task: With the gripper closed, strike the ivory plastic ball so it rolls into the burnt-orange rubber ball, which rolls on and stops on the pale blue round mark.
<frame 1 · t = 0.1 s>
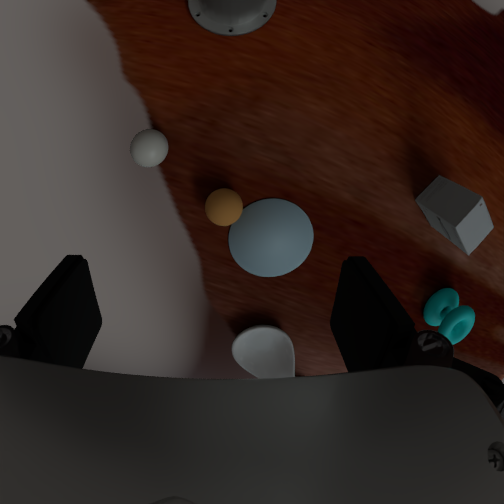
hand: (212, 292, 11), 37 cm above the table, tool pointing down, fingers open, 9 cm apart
spoon rest: (275, 353, 63), on the table
donuts: (438, 303, 61), on the table
supplement box: (434, 200, 49), on the table
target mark: (271, 239, 50), on the table
cue ball: (149, 148, 40), on the table
orange ball: (223, 207, 44), on the table
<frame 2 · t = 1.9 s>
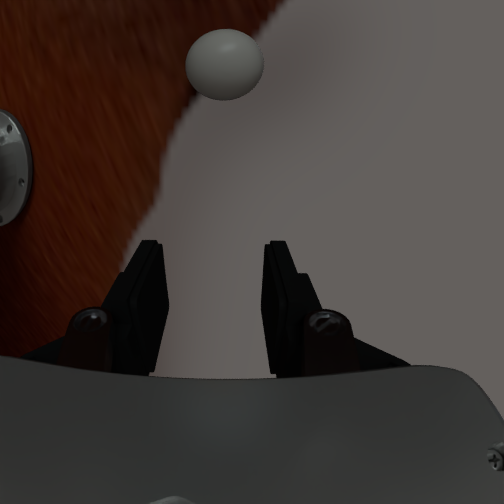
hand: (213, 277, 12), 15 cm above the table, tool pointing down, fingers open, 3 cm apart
cue ball: (224, 64, 18), on the table
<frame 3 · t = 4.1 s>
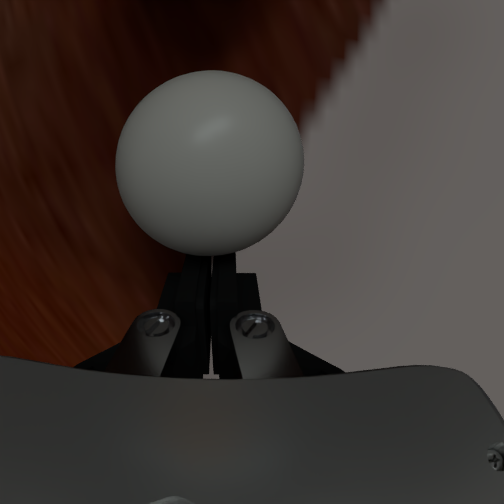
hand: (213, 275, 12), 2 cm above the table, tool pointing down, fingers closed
cue ball: (209, 162, 9), on the table
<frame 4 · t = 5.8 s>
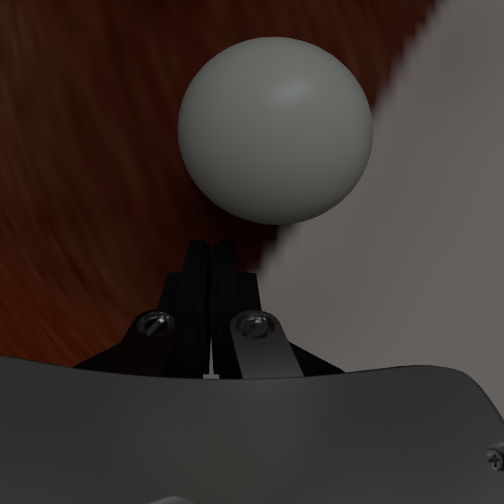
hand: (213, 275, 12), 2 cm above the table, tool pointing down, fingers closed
cue ball: (275, 129, 8), on the table
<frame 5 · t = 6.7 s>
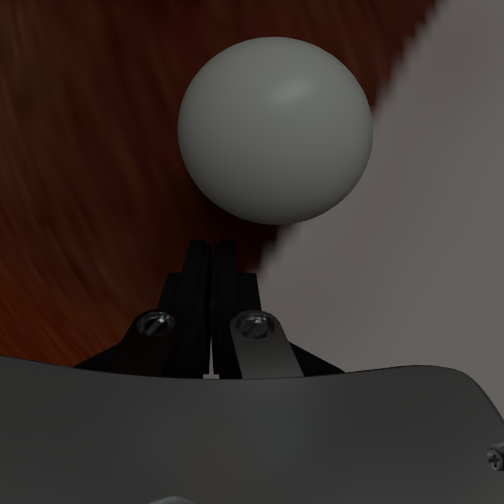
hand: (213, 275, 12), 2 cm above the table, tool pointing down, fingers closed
cue ball: (275, 129, 8), on the table
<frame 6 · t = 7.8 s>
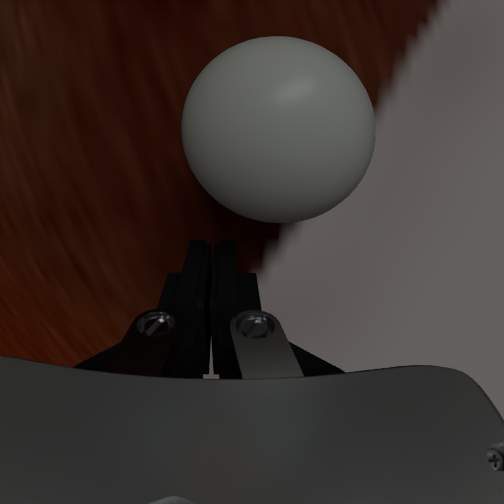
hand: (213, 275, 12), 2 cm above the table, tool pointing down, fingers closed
cue ball: (278, 128, 8), on the table
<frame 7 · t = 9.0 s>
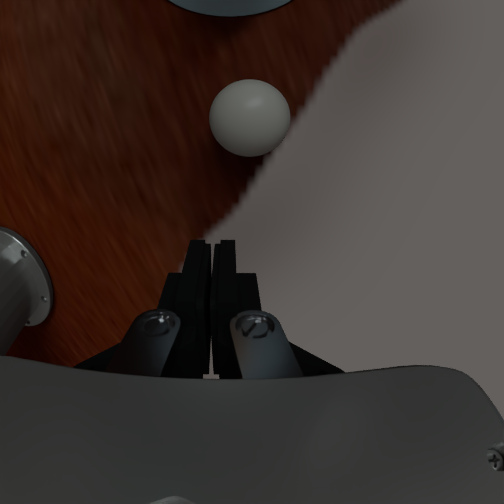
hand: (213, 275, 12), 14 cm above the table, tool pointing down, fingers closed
cue ball: (249, 117, 19), on the table
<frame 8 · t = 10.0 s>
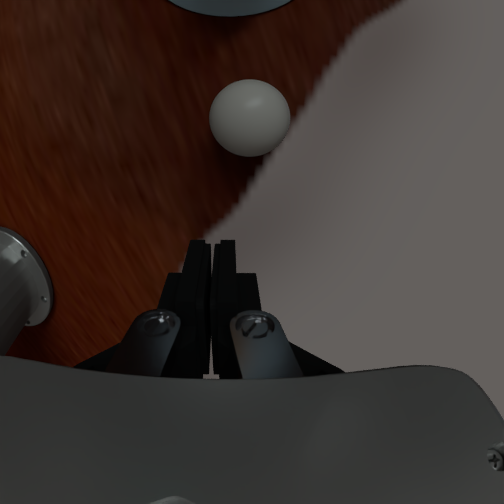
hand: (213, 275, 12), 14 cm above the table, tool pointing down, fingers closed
cue ball: (249, 117, 19), on the table
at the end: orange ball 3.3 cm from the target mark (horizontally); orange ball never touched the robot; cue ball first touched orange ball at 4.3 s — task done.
